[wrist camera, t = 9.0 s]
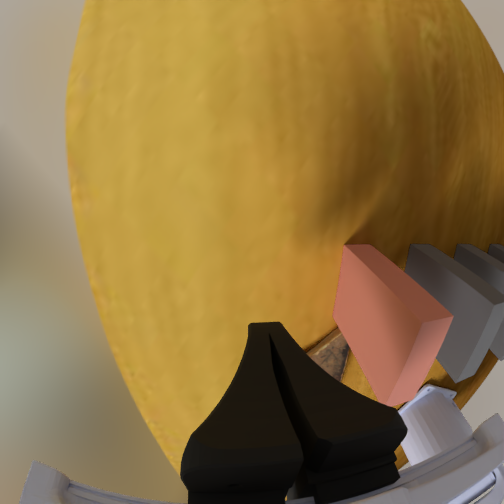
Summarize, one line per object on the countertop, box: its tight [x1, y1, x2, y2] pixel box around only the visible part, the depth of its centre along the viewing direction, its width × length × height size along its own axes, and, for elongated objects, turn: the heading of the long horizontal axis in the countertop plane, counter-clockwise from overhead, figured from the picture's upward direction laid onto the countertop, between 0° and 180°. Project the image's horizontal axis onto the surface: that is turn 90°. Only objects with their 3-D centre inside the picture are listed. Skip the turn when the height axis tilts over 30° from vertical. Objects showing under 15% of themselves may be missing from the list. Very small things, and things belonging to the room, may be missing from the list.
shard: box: [306, 327, 350, 382], centre depth 20 cm, size 11×8×2 cm
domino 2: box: [454, 244, 504, 361], centre depth 14 cm, size 2×5×8 cm, turn 179°
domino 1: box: [404, 244, 504, 383], centre depth 13 cm, size 2×5×8 cm, turn 179°
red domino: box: [333, 244, 454, 407], centre depth 13 cm, size 2×5×8 cm, turn 179°
